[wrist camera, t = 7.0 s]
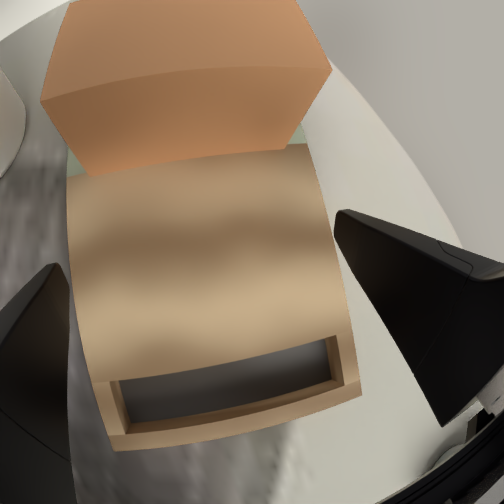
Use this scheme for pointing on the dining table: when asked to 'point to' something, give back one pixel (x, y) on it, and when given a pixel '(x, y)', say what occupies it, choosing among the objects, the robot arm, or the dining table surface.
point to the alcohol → (10, 123)
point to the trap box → (208, 296)
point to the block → (180, 79)
